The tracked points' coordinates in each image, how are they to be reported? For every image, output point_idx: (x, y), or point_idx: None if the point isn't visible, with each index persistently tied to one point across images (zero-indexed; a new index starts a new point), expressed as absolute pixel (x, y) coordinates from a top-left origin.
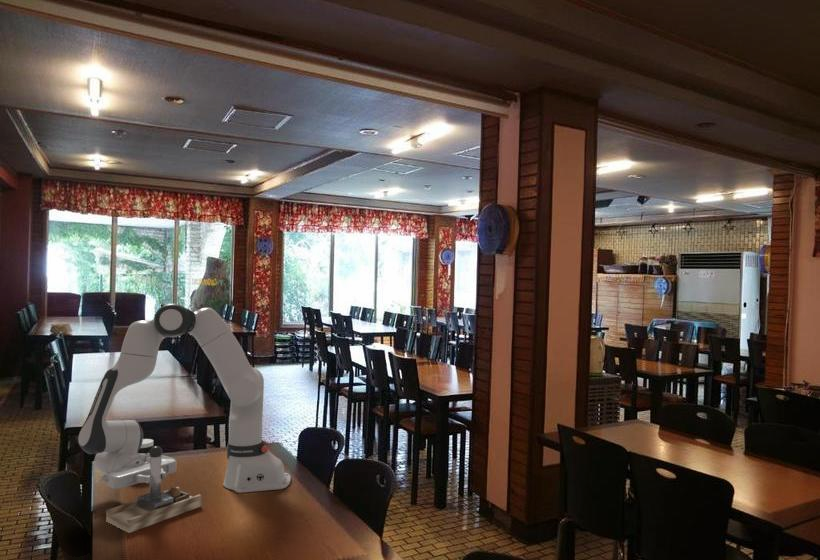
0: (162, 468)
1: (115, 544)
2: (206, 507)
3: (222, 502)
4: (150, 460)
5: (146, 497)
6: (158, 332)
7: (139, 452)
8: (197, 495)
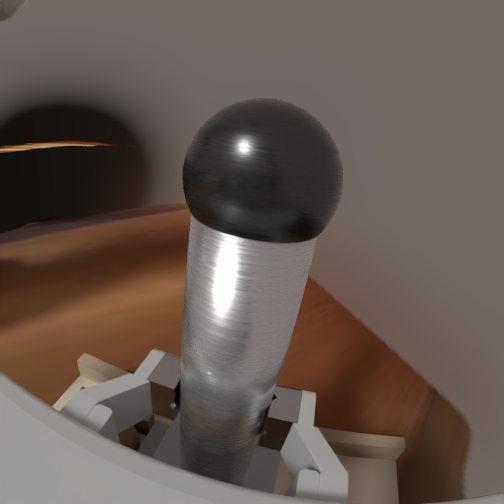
0: (75, 395)
1: (435, 434)
2: None
3: (57, 342)
4: (304, 282)
5: None
6: None
7: None
8: (89, 361)
